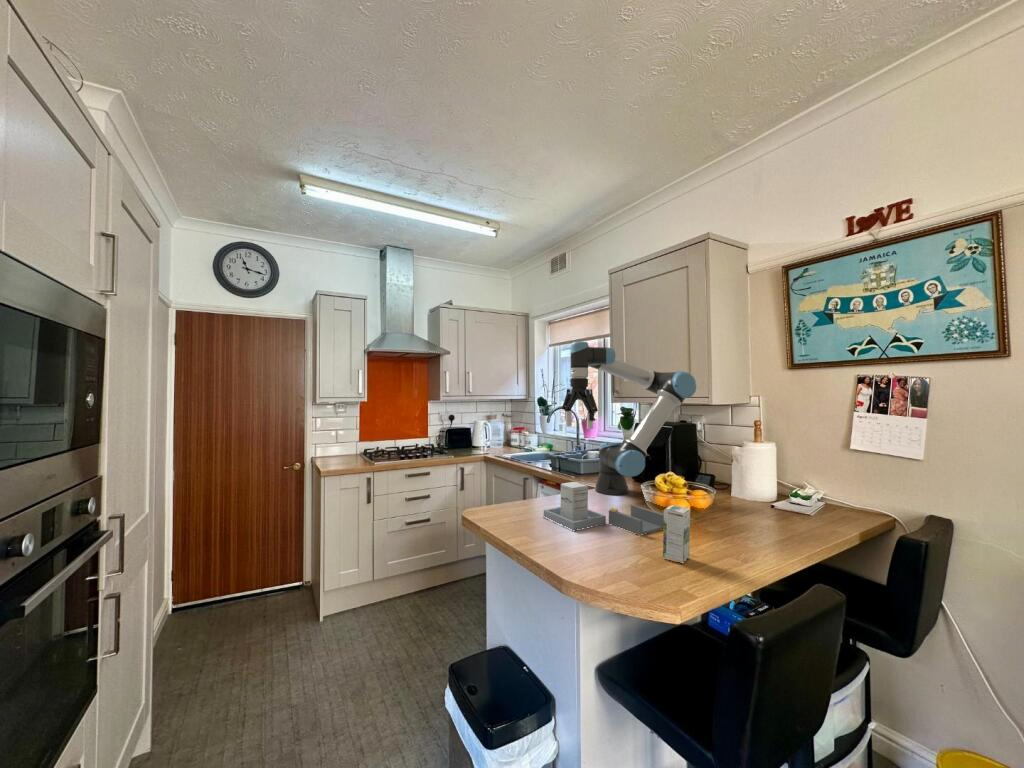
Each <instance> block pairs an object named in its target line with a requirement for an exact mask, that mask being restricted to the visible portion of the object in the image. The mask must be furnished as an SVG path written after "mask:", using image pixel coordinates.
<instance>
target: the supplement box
mask: <svg viewBox="0 0 1024 768" xmlns="http://www.w3.org/2000/svg"><path fill="white" fill-rule="evenodd" d="M560 507H561V510H560V516H562V517H564V518H567V519H569V520H572V521H579V520H583V519H588V509H589V486H588V485H587V484H583V483H581V482H577V481H571V482H564V483H560Z"/></svg>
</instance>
